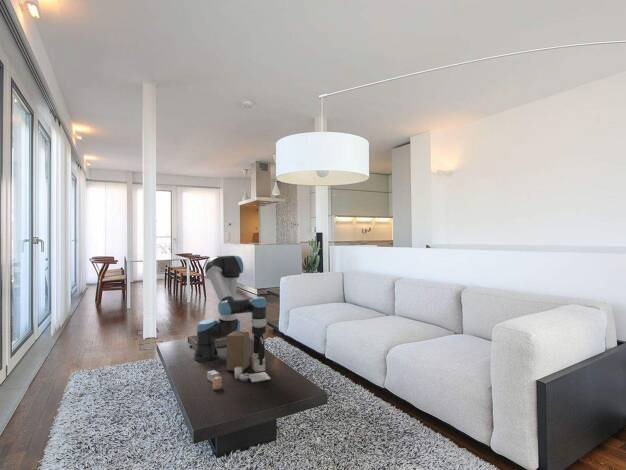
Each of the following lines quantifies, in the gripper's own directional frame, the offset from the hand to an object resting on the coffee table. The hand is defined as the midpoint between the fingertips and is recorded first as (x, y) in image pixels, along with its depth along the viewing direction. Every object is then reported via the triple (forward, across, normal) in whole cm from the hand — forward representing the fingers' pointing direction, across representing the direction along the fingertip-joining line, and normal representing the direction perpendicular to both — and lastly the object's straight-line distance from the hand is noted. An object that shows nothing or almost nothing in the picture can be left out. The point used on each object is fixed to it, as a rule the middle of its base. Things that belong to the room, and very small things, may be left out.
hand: (258, 368), depth 196 cm
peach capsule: (+5, +5, -23) cm, 24 cm away
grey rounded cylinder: (+5, -5, -10) cm, 12 cm away
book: (+5, -77, -12) cm, 78 cm away
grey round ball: (+5, 0, -8) cm, 9 cm away
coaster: (+5, 0, 0) cm, 5 cm away
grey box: (+5, -7, -23) cm, 25 cm away
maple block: (0, 0, 0) cm, 0 cm away
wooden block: (+5, -19, -7) cm, 21 cm away
